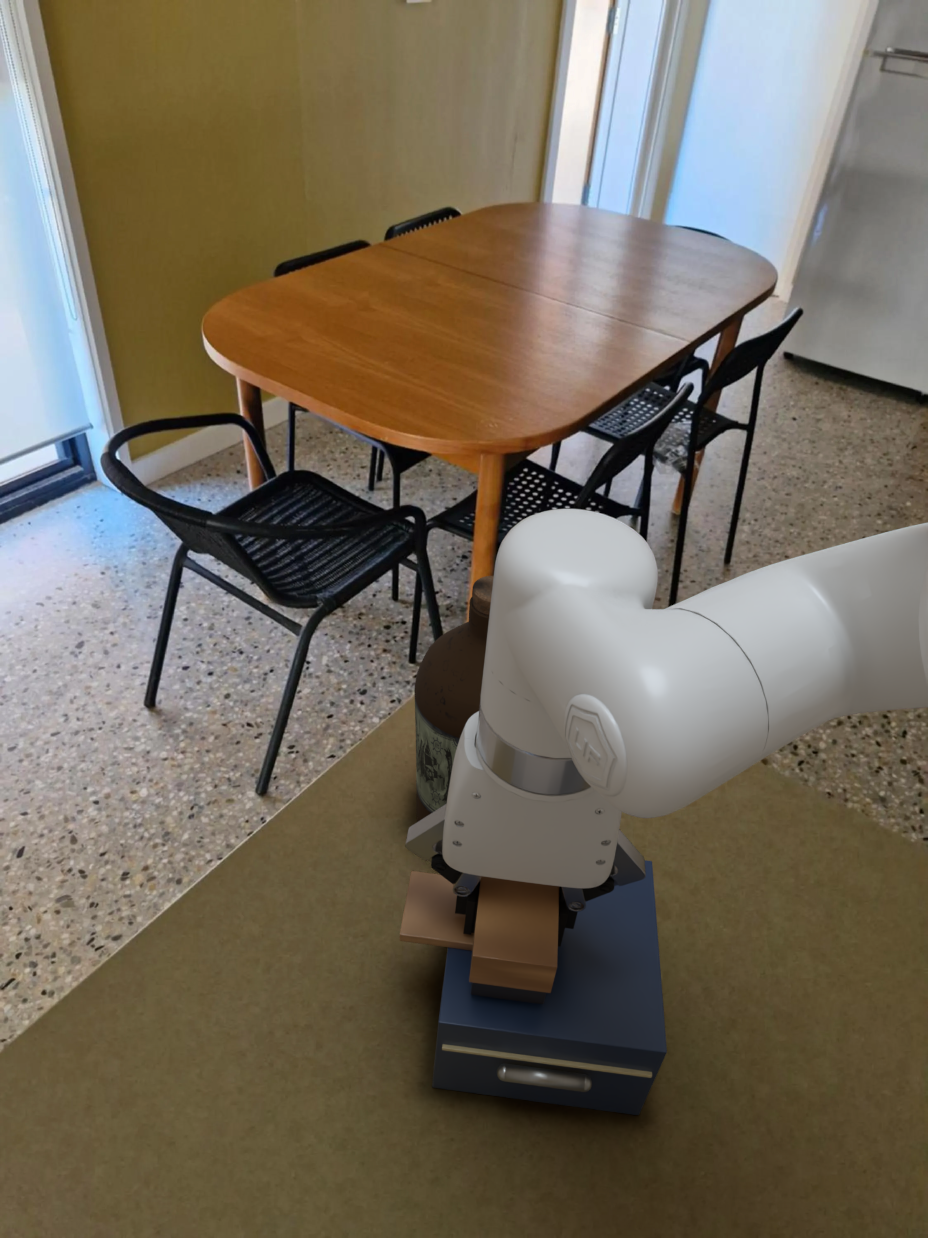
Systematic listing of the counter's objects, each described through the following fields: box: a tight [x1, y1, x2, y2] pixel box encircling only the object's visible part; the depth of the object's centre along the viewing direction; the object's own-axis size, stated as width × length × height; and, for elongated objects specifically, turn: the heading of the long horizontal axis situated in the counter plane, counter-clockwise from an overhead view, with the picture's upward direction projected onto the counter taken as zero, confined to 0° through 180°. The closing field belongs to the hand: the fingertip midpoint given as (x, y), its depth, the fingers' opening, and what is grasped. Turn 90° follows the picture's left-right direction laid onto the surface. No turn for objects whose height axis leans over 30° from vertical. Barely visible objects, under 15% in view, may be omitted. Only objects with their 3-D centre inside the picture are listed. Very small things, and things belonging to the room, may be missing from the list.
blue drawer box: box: [431, 859, 668, 1116], centre depth 62 cm, size 15×14×9 cm
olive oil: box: [414, 575, 494, 822], centre depth 70 cm, size 11×11×25 cm
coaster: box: [398, 870, 474, 951], centre depth 60 cm, size 5×5×1 cm
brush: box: [469, 876, 559, 1004], centre depth 58 cm, size 11×5×5 cm, turn 174°
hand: (513, 919), depth 59 cm, fingers closed on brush, 5 cm apart
